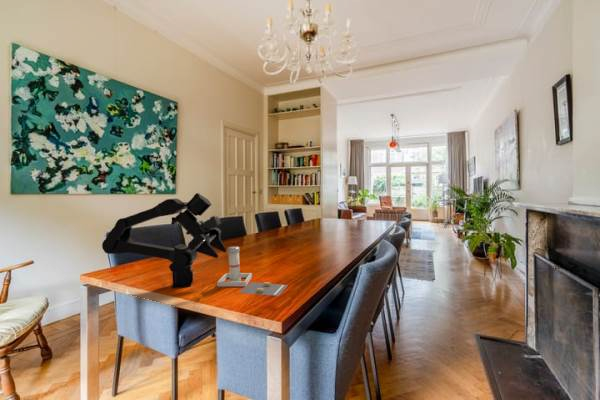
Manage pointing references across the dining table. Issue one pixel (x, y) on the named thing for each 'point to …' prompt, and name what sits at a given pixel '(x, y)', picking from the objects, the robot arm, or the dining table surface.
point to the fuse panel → (264, 289)
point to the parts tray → (235, 283)
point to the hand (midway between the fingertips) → (221, 254)
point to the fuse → (234, 264)
